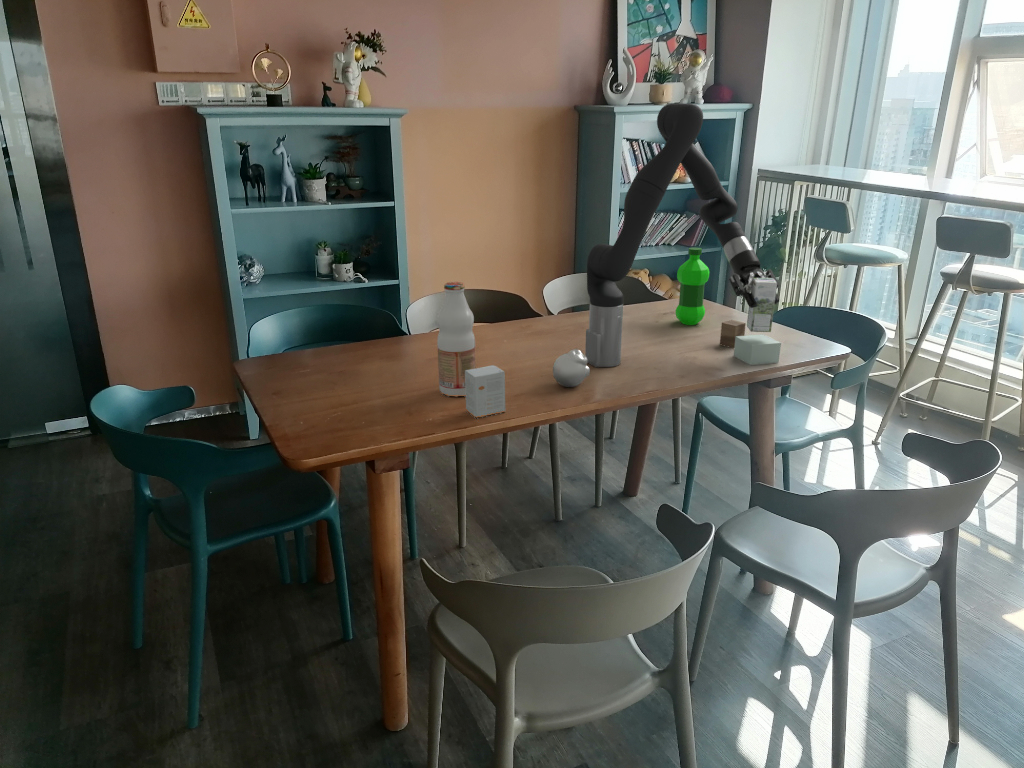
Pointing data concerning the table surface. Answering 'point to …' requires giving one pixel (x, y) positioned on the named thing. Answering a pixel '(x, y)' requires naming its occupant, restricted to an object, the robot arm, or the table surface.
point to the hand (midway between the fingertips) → (765, 304)
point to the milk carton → (762, 305)
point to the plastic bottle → (692, 288)
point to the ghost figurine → (571, 368)
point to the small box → (485, 390)
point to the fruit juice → (455, 340)
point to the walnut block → (731, 332)
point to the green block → (757, 349)
